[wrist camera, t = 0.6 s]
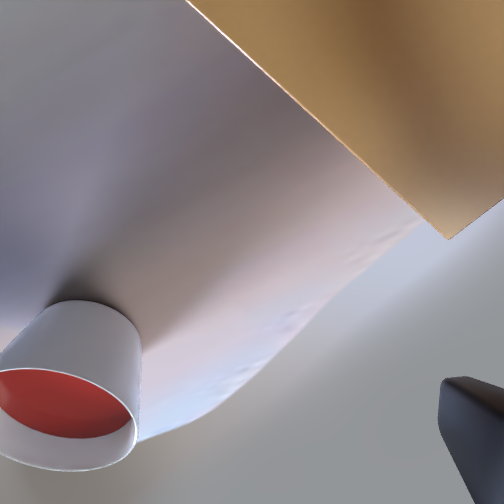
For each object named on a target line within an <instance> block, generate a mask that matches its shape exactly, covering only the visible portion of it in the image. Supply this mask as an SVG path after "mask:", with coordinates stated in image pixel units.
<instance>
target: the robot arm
mask: <svg viewBox="0 0 504 504" xmlns="http://www.w3.org/2000/svg"><path fill="white" fill-rule="evenodd" d="M438 425H439V430H440V433H441V435H442V438H443V440H444V442H445V444H446V446H447V448H448V450H449V452H450V454H451V456H452V458H453V460H454V462H455V464H456V466H457V468H458V470H459V472H460V474H461V476H462V478H463V480H464V482H465V484H466V486H467V489H468V490H469V492H470V494H471V497H472V499H473V501H474V503H475V504H504V389H503V388H500V387H497V386H494V385H491V384H489V383H485V382H482V381H480V380H476V379H474V378H471V377H465V376H463V377H453V378H445V379H444V380H443V381H442V383H441V387H440V397H439V409H438Z"/></svg>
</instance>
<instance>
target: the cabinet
mask: <svg viewBox="0 0 504 504" xmlns="http://www.w3.org/2000/svg"><path fill="white" fill-rule="evenodd" d="M185 1H186V2H187V3H188V4H190V5H191V6H192V7H193V8H194V9H195V10H196V11H197V12H198V13H199V14H201V15H202V16H203V17H204V18H205V19H206V20H207V21H208V22H209V23H210V24H211V25H213V26H214V27H215V28H216V29H217V30H218V31H219V32H220V33H221V34H222V35H224V36H225V37H226V38H227V39H228V40H229V41H230V42H231V43H232V44H233V45H234V46H236V47H237V48H238V49H239V50H240V51H241V52H242V53H243V54H244V55H245V56H247V57H248V58H249V59H250V60H251V61H252V62H253V63H254V64H255V65H256V66H257V67H259V68H260V69H261V70H262V71H263V72H264V73H265V74H266V75H267V76H268V77H270V78H271V79H272V80H273V81H274V82H275V83H276V84H277V85H278V86H279V87H281V88H282V89H283V90H284V91H285V92H286V93H287V94H288V95H289V96H290V97H291V98H293V99H294V100H295V101H296V102H297V103H298V104H299V105H300V106H301V107H302V108H304V109H305V110H306V111H307V112H308V113H309V114H310V115H311V116H312V117H313V118H314V119H316V120H317V121H318V122H319V123H320V124H321V125H322V126H323V127H324V128H325V129H327V130H328V131H329V132H330V133H331V134H332V135H333V136H334V137H335V138H336V139H337V140H339V141H340V142H341V143H342V144H343V145H344V146H345V147H346V148H347V149H348V150H350V151H351V152H352V153H353V154H354V155H355V156H356V157H357V158H358V159H359V160H361V161H362V162H363V163H364V164H365V165H366V166H367V167H368V168H369V169H370V170H371V171H373V172H374V173H375V174H376V175H377V176H378V177H379V178H380V179H381V180H382V181H384V182H385V183H386V184H387V185H388V186H389V187H390V188H391V189H392V190H393V191H394V192H396V193H397V194H398V195H399V196H400V197H401V198H402V199H403V200H404V201H405V202H407V203H408V204H409V205H410V206H411V207H412V208H413V209H414V210H415V211H416V212H418V213H419V214H420V215H421V216H422V217H423V218H424V219H425V220H426V221H427V222H428V223H430V224H431V225H432V226H433V227H434V228H435V229H436V230H437V231H438V232H439V233H441V234H442V235H443V236H444V237H445V238H446V239H448V240H449V239H451V238H452V237H453V236H455V235H456V234H458V233H459V232H460V231H462V230H463V229H464V228H465V227H467V226H468V225H469V224H471V223H472V222H473V221H475V220H476V219H477V218H478V217H480V216H481V215H482V214H484V213H485V212H486V211H488V210H489V209H490V208H491V207H493V206H494V205H496V204H497V203H498V202H500V201H501V200H502V199H503V198H504V0H185Z"/></svg>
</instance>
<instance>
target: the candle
mask: <svg viewBox="0 0 504 504" xmlns="http://www.w3.org/2000/svg"><path fill="white" fill-rule="evenodd" d="M141 372H142V342H141V338H140V335H139V333H138V331H137V330H136V328H135V327H134V325H133V324H132V323H131V322H130V321H129V320H128V319H127V318H126V317H125V316H123V315H122V314H121V313H119V312H117V311H116V310H114V309H112V308H110V307H107V306H105V305H102V304H99V303H95V302H90V301H83V300H71V301H64V302H59V303H56V304H54V305H51V306H49V307H47V308H46V309H44V310H43V311H42V312H40V313H39V314H38V315H37V316H36V317H35V318H34V319H33V320H32V321H31V322H30V323H29V324H28V325H27V326H26V327H25V328H24V329H23V330H22V331H21V332H20V333H19V334H18V335H17V336H16V337H15V338H14V339H13V340H12V341H11V343H10V344H9V345H8V346H7V347H6V348H5V349H4V350H3V351H2V352H1V353H0V454H1V455H4V456H6V457H8V458H10V459H12V460H15V461H17V462H20V463H24V464H26V465H30V466H34V467H38V468H43V469H48V470H56V471H87V470H94V469H99V468H103V467H106V466H109V465H112V464H114V463H116V462H118V461H120V460H121V459H123V458H124V457H126V456H127V455H128V454H129V453H130V452H131V451H132V449H133V448H134V446H135V444H136V442H137V439H138V432H139V414H140V393H141Z"/></svg>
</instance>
